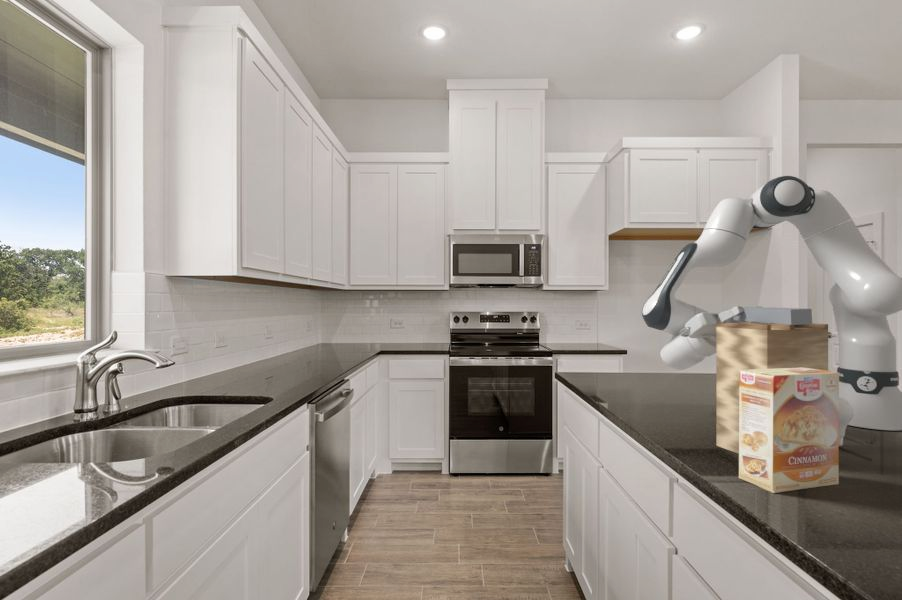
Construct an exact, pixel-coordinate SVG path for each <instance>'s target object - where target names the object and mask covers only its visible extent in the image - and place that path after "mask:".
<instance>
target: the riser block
mask: <svg viewBox="0 0 902 600" xmlns="http://www.w3.org/2000/svg"><path fill="white" fill-rule="evenodd" d="M715 355H716V358H715V359H716V379H715V380H716V388H715V390H716V394H715V395H716V408H715V409H716V420H715V421H716V423H715V424H716V426H715V427H716V447H719V448H722V449H724V450H728V451H731V452H733V453H736V454H738V455H739V377H740V375H739V370H749V369H776V368H800V367H804V368H811V369H820V370H827V371H829V323H812V324H801V325H787V324H775V323H749V322H737V323H722V322H716V353H715Z"/></svg>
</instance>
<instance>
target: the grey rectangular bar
mask: <svg viewBox="0 0 902 600" xmlns="http://www.w3.org/2000/svg"><path fill="white" fill-rule="evenodd" d="M734 307H735V306H733V307H732V308H734ZM741 307H742V308H743V310H744V313H743V314H741V315H740V316H735V317H733V320H739V321H751V322H763V323H775V324H787V325H801V324H813V312H812V311H813V310H812V308H803V307H802V308H801V307H800V308H799V307H770V306H769V307H765V306H741Z"/></svg>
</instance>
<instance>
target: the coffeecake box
mask: <svg viewBox="0 0 902 600" xmlns="http://www.w3.org/2000/svg"><path fill="white" fill-rule="evenodd" d="M739 375H740V377H739V454H738V479H740V480H741V481H745V482H747V483H750V484H751V485H754V486H756V487H758V488H760V489H762V490H764V491H768V492H769V493H772V494H777V493H784V492H793V491H799V490H806V489H813V488H820V487H826V486H835V485H836V486H837V485H839V484H840V481H839V479H840V478H839V477H840V476H839V474H840V473H839V472H840V471H839V470H840V468H839V467H840V465H839V464H840V463H839V462H840V461H839V460H840V459H839V457H840V455H839V454H840V451H839V450H840V449H839V447H840V446H839V373H838V372H837V371H832V370H828V371H827V370H820V369H811V368H804V367H800V368H776V369H749V370H739Z"/></svg>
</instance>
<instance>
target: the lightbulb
mask: <svg viewBox="0 0 902 600" xmlns="http://www.w3.org/2000/svg"><path fill="white" fill-rule="evenodd" d="M853 415H854V410H853V407H852V406H851V404H850V403H849V402H848V401H846V400H845V399H843V398H840V397H839V447H841V446H843V445H844V437H845V435H846V428H847V426H849V425H848V424H849V422H850V421H851V419H852V418H853Z"/></svg>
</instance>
